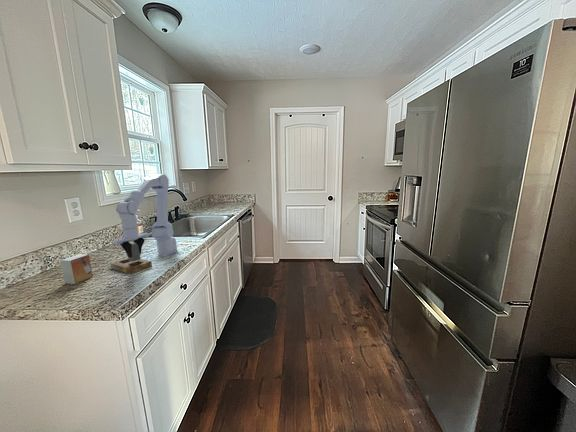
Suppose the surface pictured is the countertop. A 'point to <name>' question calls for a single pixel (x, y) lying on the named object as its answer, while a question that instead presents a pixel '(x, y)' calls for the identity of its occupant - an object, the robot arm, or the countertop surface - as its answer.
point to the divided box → (131, 266)
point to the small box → (76, 268)
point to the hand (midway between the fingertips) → (134, 255)
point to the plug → (134, 252)
